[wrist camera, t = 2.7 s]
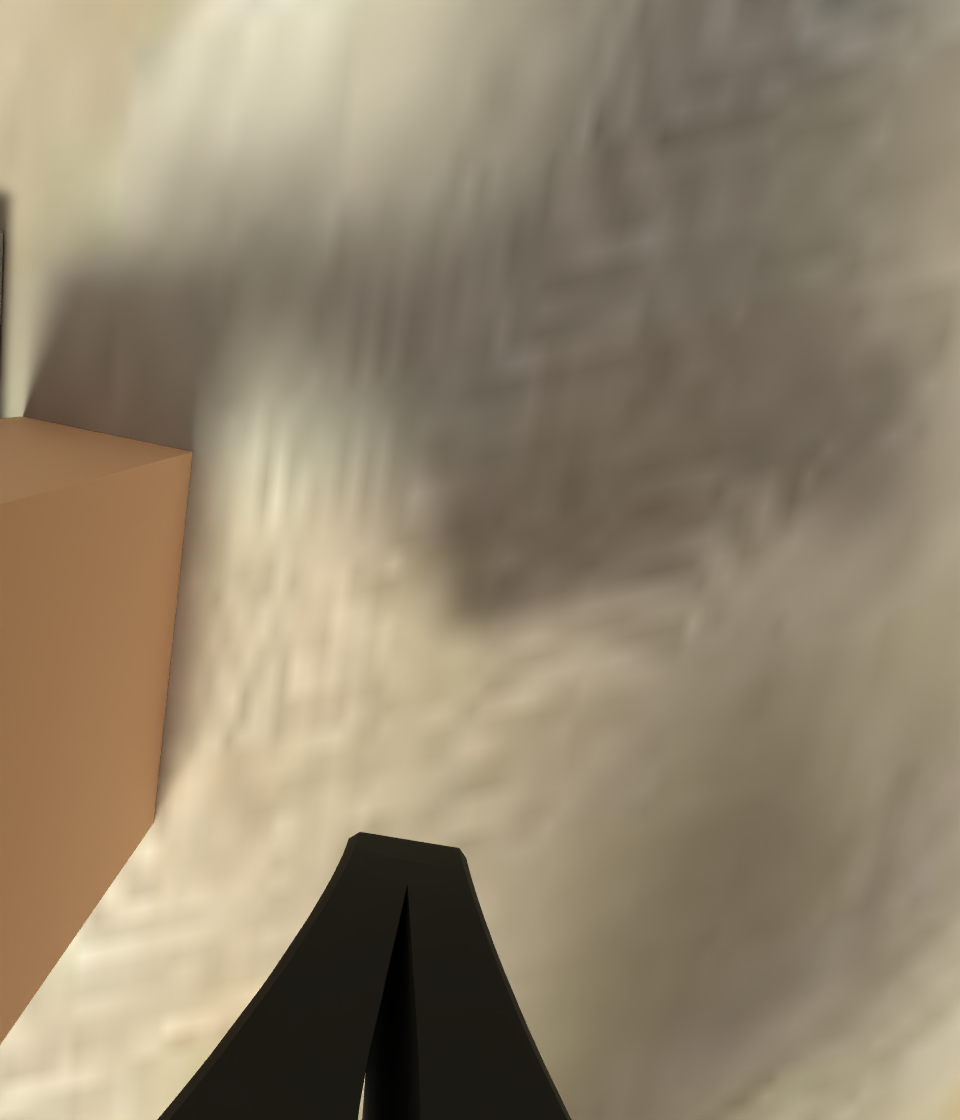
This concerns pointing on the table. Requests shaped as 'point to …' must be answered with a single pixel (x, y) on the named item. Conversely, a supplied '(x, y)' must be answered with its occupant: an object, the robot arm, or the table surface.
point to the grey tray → (0, 255)
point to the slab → (78, 675)
